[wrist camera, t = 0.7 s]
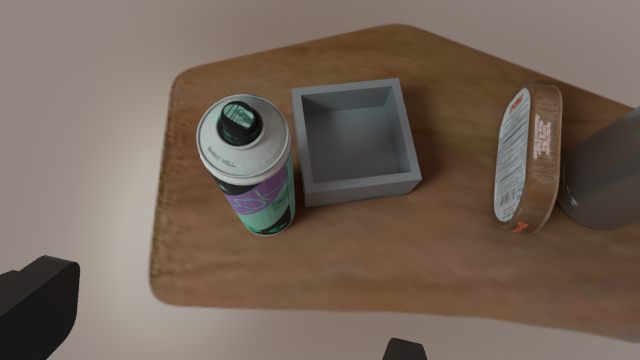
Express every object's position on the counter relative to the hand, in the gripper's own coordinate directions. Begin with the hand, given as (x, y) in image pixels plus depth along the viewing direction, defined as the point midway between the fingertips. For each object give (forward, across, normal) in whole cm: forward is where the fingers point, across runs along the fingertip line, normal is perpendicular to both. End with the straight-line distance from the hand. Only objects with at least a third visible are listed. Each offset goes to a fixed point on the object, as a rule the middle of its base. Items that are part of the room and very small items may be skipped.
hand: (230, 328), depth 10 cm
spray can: (+28, +2, +8) cm, 30 cm away
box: (+32, -5, +2) cm, 33 cm away
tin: (+33, -21, 0) cm, 39 cm away
